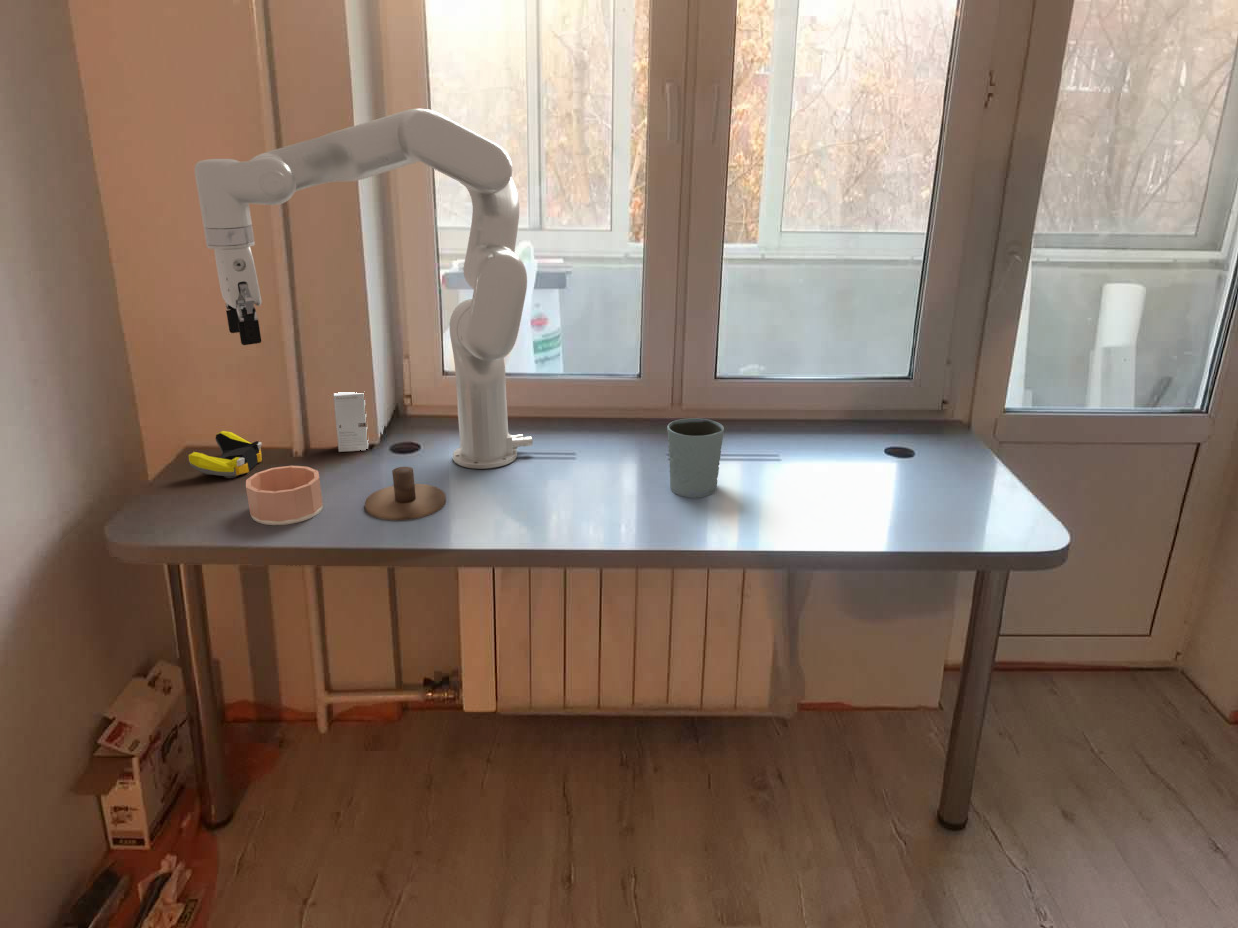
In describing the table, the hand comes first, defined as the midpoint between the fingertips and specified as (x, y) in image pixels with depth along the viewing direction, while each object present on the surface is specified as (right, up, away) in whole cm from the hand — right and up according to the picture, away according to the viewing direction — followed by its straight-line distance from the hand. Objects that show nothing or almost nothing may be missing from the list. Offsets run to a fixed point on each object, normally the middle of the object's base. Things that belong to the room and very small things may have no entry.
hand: (245, 337), depth 167 cm
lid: (+27, -29, +5) cm, 40 cm away
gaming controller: (-11, -23, +21) cm, 33 cm away
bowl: (+6, -30, +2) cm, 31 cm away
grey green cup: (+78, -26, +11) cm, 83 cm away
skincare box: (+10, -19, +31) cm, 38 cm away
